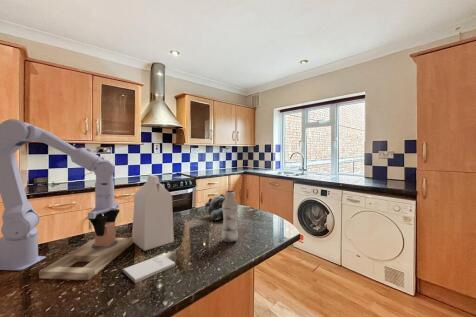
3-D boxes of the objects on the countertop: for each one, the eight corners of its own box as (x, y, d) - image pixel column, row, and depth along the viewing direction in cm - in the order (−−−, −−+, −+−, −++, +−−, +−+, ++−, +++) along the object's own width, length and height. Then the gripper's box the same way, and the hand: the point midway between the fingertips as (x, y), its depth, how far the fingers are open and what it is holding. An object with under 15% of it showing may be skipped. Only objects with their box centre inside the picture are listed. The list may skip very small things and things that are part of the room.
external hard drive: (122, 273, 65) (161, 258, 74) (135, 285, 59) (175, 267, 69) (122, 268, 65) (161, 253, 74) (135, 279, 59) (175, 262, 69)
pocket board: (39, 278, 61) (38, 270, 61) (97, 242, 85) (97, 236, 85) (88, 279, 61) (88, 271, 60) (132, 243, 84) (132, 237, 84)
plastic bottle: (241, 240, 89) (242, 191, 88) (229, 245, 84) (230, 193, 83) (230, 236, 93) (230, 189, 92) (218, 240, 88) (218, 191, 87)
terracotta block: (95, 245, 77) (94, 226, 76) (103, 240, 81) (103, 221, 81) (107, 246, 76) (107, 226, 76) (115, 240, 81) (115, 222, 81)
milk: (131, 240, 87) (131, 175, 86) (159, 233, 95) (160, 173, 94) (144, 250, 79) (144, 178, 78) (173, 241, 87) (174, 176, 86)
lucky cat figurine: (208, 223, 109) (201, 196, 114) (211, 224, 121) (204, 200, 125) (237, 213, 111) (229, 188, 116) (237, 216, 123) (229, 192, 127)
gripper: (102, 199, 71) (102, 241, 71) (126, 191, 85) (126, 226, 86) (81, 199, 71) (81, 240, 71) (108, 190, 85) (109, 225, 86)
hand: (104, 232), depth 78 cm, fingers open, 5 cm apart
